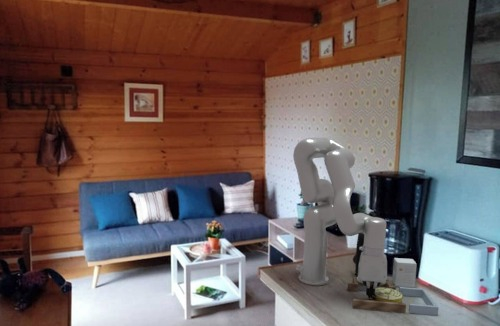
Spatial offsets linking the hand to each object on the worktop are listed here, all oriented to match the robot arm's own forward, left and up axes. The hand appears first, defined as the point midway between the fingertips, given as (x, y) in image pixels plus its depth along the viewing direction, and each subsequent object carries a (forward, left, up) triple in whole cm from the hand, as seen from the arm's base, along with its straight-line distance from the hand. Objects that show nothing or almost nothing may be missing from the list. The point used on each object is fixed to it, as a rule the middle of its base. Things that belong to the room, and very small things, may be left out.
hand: (370, 297), depth 157 cm
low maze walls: (0, +4, -1) cm, 4 cm away
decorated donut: (+5, +5, -2) cm, 7 cm away
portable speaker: (-13, +22, -1) cm, 25 cm away
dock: (+14, +10, -1) cm, 17 cm away
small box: (+3, +25, -2) cm, 25 cm away
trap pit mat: (-4, +10, -1) cm, 11 cm away
